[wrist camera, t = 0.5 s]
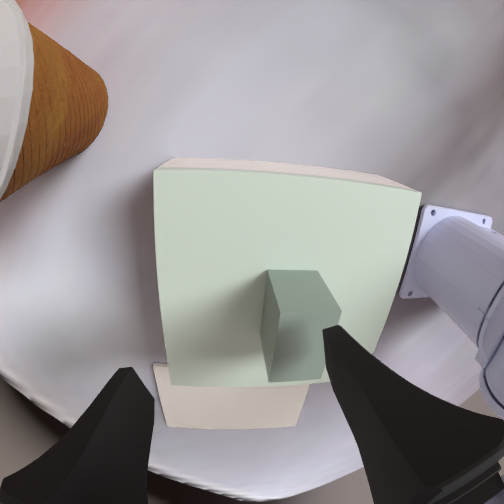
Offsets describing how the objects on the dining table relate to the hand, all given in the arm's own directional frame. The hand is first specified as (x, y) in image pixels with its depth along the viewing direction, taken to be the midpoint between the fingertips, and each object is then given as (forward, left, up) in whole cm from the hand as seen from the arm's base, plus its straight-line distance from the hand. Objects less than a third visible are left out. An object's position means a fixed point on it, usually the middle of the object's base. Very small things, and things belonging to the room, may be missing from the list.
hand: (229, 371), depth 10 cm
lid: (-3, 0, -6) cm, 7 cm away
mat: (-1, +15, -10) cm, 18 cm away
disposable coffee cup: (+11, -10, -10) cm, 18 cm away
